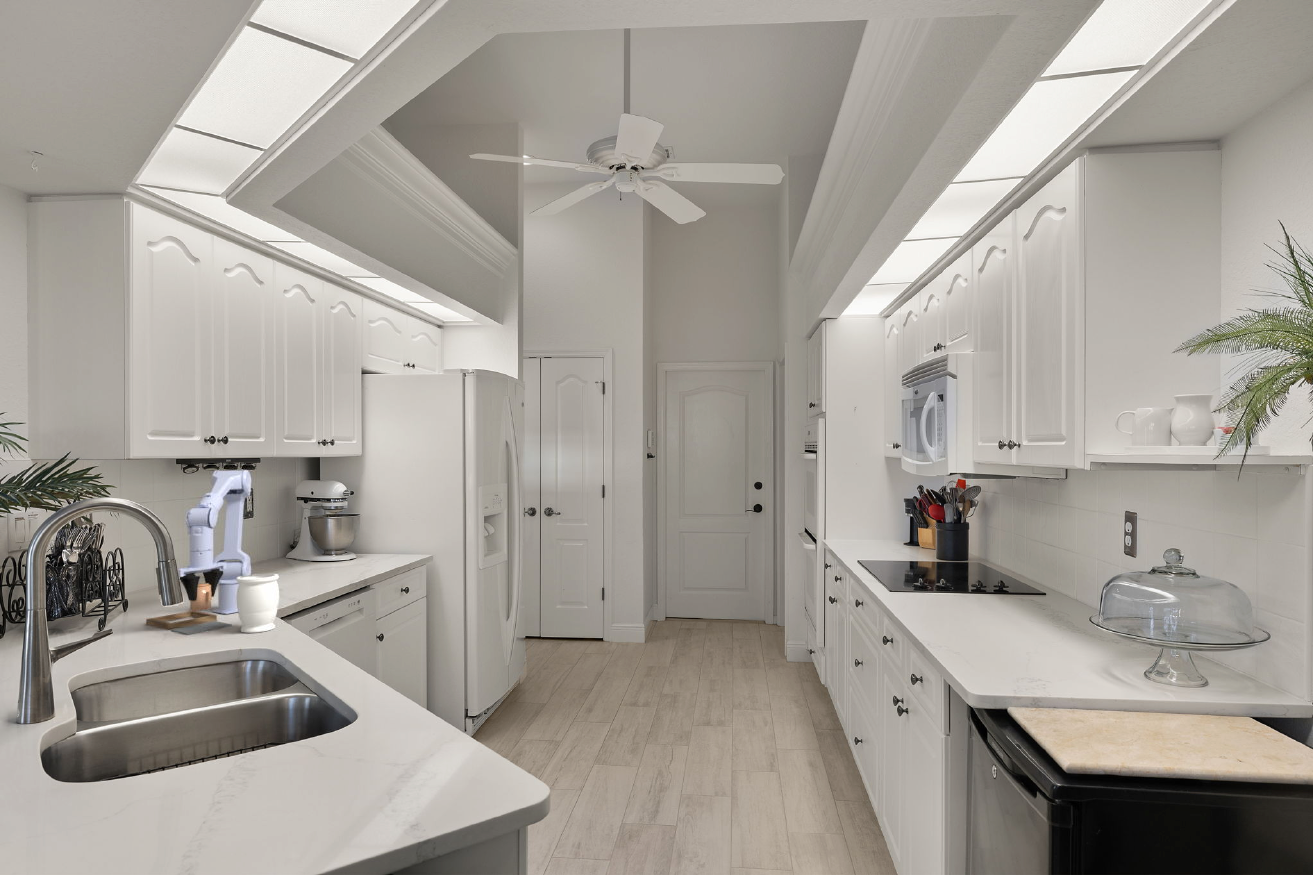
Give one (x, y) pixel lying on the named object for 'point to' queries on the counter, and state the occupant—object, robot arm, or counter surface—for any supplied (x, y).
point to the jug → (202, 598)
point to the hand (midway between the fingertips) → (201, 598)
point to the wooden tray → (199, 618)
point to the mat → (201, 627)
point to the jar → (257, 602)
